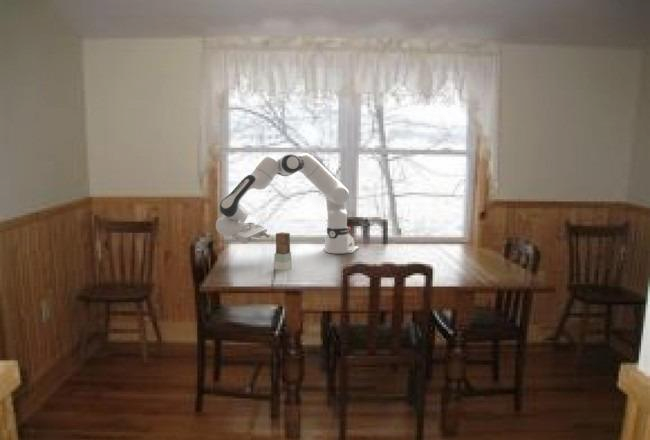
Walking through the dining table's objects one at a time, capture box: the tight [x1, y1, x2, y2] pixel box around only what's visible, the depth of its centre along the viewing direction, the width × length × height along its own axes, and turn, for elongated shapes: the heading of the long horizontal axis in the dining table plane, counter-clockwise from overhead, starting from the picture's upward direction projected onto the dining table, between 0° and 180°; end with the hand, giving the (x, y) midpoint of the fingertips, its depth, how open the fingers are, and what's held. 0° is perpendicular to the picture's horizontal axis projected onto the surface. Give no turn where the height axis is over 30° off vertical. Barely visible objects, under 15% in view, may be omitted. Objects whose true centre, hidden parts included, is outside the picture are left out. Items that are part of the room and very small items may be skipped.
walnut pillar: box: [275, 231, 291, 254], centre depth 274 cm, size 5×5×10 cm
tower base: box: [274, 259, 292, 271], centre depth 276 cm, size 6×6×4 cm
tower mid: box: [274, 251, 292, 263], centre depth 275 cm, size 6×6×4 cm
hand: (264, 238), depth 281 cm, fingers open, 8 cm apart
